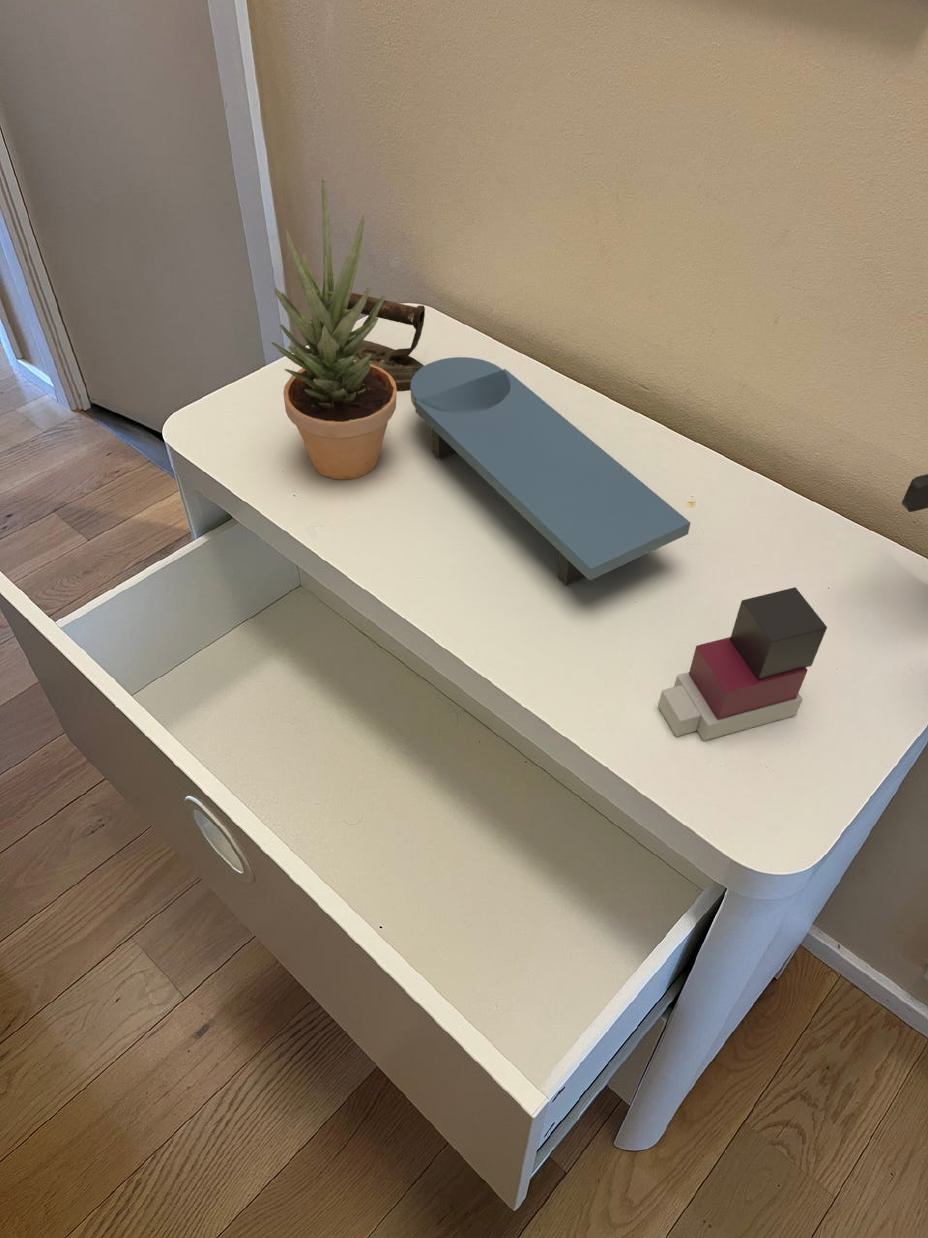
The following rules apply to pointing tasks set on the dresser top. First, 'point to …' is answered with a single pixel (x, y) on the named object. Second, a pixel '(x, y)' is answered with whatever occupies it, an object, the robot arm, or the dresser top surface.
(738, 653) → the stacked block tower
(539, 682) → the dresser top surface
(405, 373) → the clothes iron
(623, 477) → the ironing board
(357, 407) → the potted plant
